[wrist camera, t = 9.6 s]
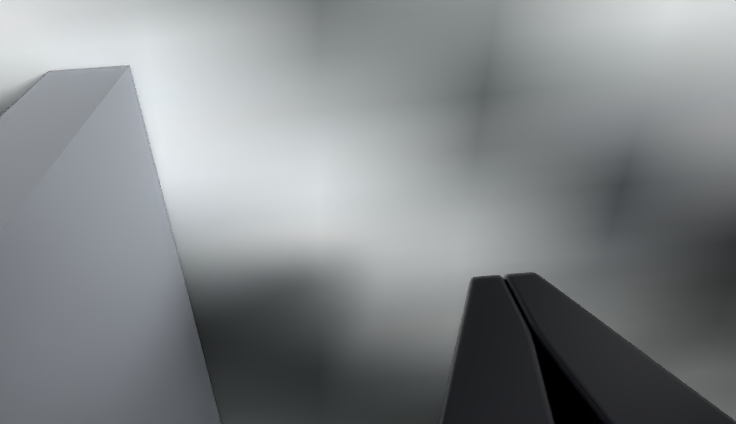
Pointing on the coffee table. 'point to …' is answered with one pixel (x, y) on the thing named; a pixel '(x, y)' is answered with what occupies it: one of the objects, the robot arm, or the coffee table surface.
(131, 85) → the gray rectangular panel
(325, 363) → the coffee table surface
